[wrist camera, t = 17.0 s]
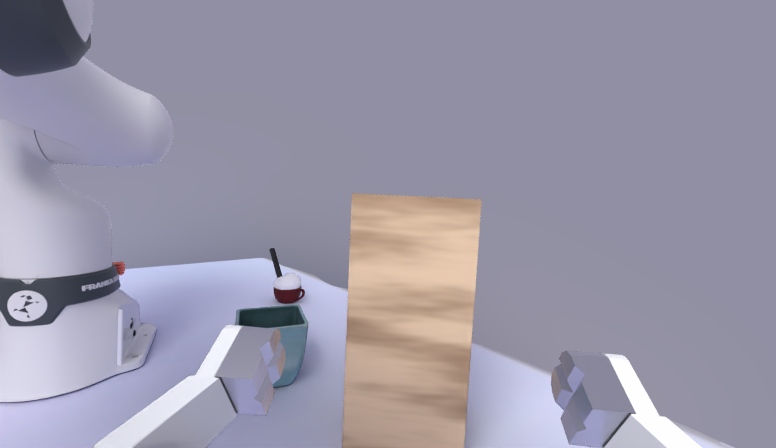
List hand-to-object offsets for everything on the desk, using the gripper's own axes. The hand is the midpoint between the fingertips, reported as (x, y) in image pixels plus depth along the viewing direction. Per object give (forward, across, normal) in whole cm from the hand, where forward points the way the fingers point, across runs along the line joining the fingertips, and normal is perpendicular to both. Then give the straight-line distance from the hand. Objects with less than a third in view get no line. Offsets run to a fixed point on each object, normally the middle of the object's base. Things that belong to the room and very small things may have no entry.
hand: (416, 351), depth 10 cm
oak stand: (+13, 0, +32) cm, 35 cm away
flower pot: (+19, +18, +36) cm, 45 cm away
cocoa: (+48, +29, +53) cm, 77 cm away
